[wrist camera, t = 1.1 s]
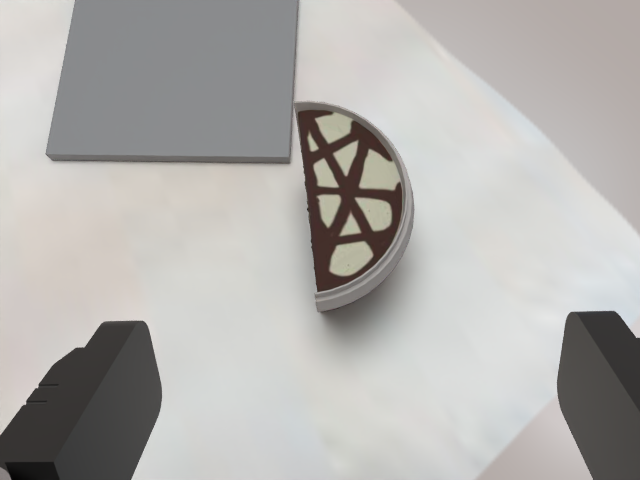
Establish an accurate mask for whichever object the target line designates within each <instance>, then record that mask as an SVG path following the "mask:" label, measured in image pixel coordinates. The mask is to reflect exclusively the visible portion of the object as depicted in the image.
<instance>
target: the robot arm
mask: <svg viewBox="0 0 640 480" xmlns="http://www.w3.org/2000/svg"><path fill="white" fill-rule="evenodd" d="M557 392H558V399H559V404H560V408H561V411H562V413H563V415H564V418H565V420H566V422H567V424H568V426H569V429H570V431H571V433H572V435H573V437H574V439H575V441H576V444H577V446H578V448H579V450H580V452H581V454H582V456H583V458H584V460H585V463H586V465H587V467H588V469H589V471H590V474H591V476H592V478H593V480H640V338H636V337H635V335H634V334H633V333H632V332H631V330H630V329H629V328H628V326H627V325H626V324H625V322H624V321H623V320H622V318H621V317H620V316H619V315H618V313H616V312H615V311H587V312H571V313H569V315H568V316H567V319H566V323H565V330H564V337H563V344H562V350H561V357H560V364H559V371H558V378H557ZM161 401H162V387H161V381H160V376H159V372H158V367H157V363H156V359H155V354H154V350H153V345H152V341H151V336H150V332H149V329H148V326H147V324H146V323H145V322H144V321H106V322H103V323H102V324H101V325H100V326H99V328H98V329H97V331H96V332H95V333H94V335H93V336H92V338H91V339H90V341H89V342H88V343H87V345H86V346H85V348H75V349H74V350H73V351H71V352H70V353H68V354H67V355H66V356H64V357H63V358H62V359H60V360H59V361H58V362H56V363H55V364H54V365H53V366H52V367H51V368H50V370H49V371H48V372H47V374H46V375H45V377H44V378H43V379H42V381H41V382H40V383H39V387H38V388H36V389H35V390H34V391H33V393H32V394H31V395H30V397H29V398H28V399H27V401H26V405H23V406H22V407H21V409H20V410H19V411H18V413H17V414H16V415H15V417H14V418H13V419H12V421H11V422H10V423H9V425H8V426H7V427H6V429H5V430H4V431H3V433H2V434H1V435H0V480H131V478H132V476H133V474H134V471H135V469H136V467H137V464H138V462H139V460H140V458H141V455H142V453H143V451H144V448H145V446H146V444H147V441H148V439H149V437H150V434H151V432H152V430H153V427H154V425H155V423H156V420H157V418H158V415H159V412H160V408H161Z"/></svg>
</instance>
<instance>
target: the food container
mask: <svg viewBox="0 0 640 480" xmlns="http://www.w3.org/2000/svg"><path fill="white" fill-rule="evenodd" d="M294 105H295V112H296V118H297V125H298V132H299V139H300V145H301V153H302V159H303V168H304V174H305V186H306V188H305V189H306V192H307V200H308V201H307V204H308V208H307V210H308V212H309V223H310V229H311V243H312V247H311V248H312V251H313V258H314V270H315V277H316V285H317V293H315V299H316V306H317V312H323V311H328V310H333V309H337V308H339V307H341V306H344V305H346V304H349V303H352V302H353V301H355V300H357V299H359V298H361V297H363V296H364V295H366V294H368V293H369V292H370V291H372V290H373V289H374V288H375V287H377V286H378V285H379V284H381V283H382V281H383V280H384V279H385V278H386V277H387V276H388V275H389V274H390V273H391V272H392V271H393V269H394V268H395V266H396V265H397V263H398V262H399V260H400V259H401V257H402V255H403V253H404V251H405V249H406V247H407V244H408V242H409V239H410V235H411V231H412V227H413V219H414V200H413V192H412V188H411V184H410V180H409V177H408V173H407V170H406V167H405V165H404V163H403V161H402V158H401V156H400V154H399V153H398V151H397V150H396V148H395V147H394V145H393V144H392V142H391V141H390V140H389V139H388V138H387V137H386V136H385V135H384V134H383V133H382V131H380V130H379V129H378V128H377V127H376V126H374V125H373V124H372V123H371V122H369V121H368V120H367V119H365V118H364V117H362V116H360V115H358V114H357V113H355V112H353V111H351V110H348V109H346V108H343V107H340V106H337V105H333V104H329V103H325V102H315V101H294Z"/></svg>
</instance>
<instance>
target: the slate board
mask: <svg viewBox="0 0 640 480" xmlns="http://www.w3.org/2000/svg"><path fill="white" fill-rule="evenodd" d="M297 17H298V0H75V4H74V9H73V14H72V20H71V25H70V30H69V35H68V40H67V45H66V51H65V56H64V61H63V66H62V71H61V76H60V82H59V87H58V92H57V97H56V102H55V107H54V113H53V118H52V123H51V128H50V133H49V138H48V144H47V149H46V155H47V156H48V157H49V158H50V159H51V160H86V161H169V162H253V163H290V151H291V132H292V113H293V94H294V74H295V55H296V36H297Z"/></svg>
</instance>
